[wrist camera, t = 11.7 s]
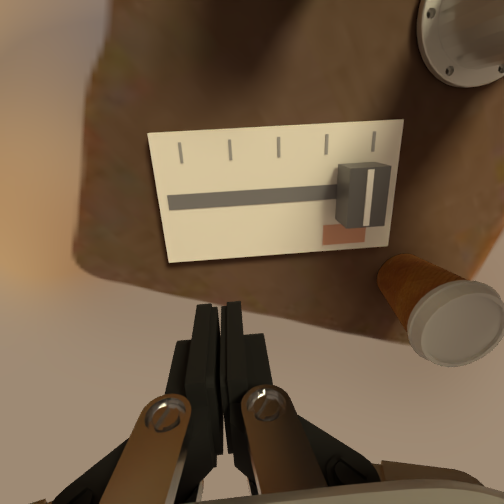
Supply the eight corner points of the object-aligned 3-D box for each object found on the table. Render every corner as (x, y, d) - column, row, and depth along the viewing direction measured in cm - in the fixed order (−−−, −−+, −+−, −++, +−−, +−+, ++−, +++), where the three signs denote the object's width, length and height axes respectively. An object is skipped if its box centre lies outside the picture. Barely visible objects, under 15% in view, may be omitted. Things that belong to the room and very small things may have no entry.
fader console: (396, 119, 34) (404, 119, 32) (382, 241, 39) (388, 246, 37) (150, 132, 32) (146, 133, 31) (170, 257, 38) (168, 263, 36)
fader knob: (375, 161, 33) (392, 166, 30) (369, 216, 35) (385, 226, 32) (338, 164, 33) (351, 168, 30) (335, 219, 35) (346, 229, 32)
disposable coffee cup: (381, 234, 39) (444, 279, 28) (448, 249, 40) (533, 298, 29) (353, 300, 42) (399, 363, 31) (416, 312, 43) (481, 376, 32)
